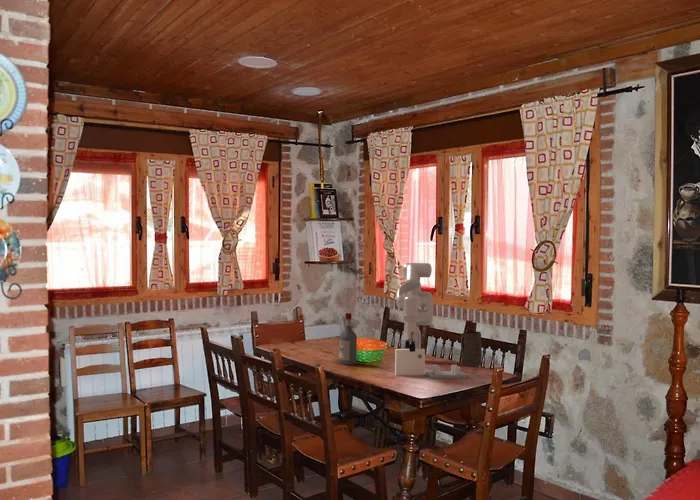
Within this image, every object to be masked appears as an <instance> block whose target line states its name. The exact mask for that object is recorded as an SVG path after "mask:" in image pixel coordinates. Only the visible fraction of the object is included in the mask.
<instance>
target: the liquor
mask: <svg viewBox="0 0 700 500" xmlns="http://www.w3.org/2000/svg"><path fill="white" fill-rule="evenodd" d="M352 315H353V314H352V313H351V312H345V316H344V317H345V326H344V327H345V328H344V329H343V331H342V332H341V333H340V335H339V337H338V339H339V341H338V344H339V345H338V346H339V349H338V350H339V351H338V363H339V364H340V365H344V366H352V365H356V364H357V362H358V361H357V356H358V355H357V354H358V351H357V349H358V348H357V346H358V336H357V334H356V333H355V331H354V330H353V327H352V317H353V316H352Z"/></svg>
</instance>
